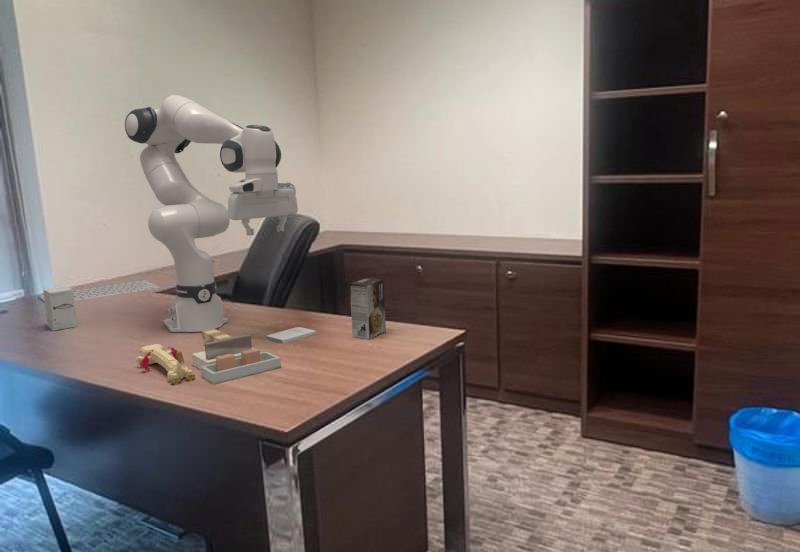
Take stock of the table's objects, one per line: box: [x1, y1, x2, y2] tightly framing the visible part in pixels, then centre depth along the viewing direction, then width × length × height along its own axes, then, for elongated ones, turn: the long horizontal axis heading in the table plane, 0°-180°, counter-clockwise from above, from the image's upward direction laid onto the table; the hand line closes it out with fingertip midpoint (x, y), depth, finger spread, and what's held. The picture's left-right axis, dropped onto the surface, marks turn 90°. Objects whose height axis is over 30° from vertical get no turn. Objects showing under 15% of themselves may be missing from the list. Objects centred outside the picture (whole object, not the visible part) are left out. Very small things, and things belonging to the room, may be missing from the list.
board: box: [191, 347, 254, 370], centre depth 178 cm, size 10×14×3 cm
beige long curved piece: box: [135, 343, 196, 385], centre depth 174 cm, size 10×9×25 cm
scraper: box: [201, 328, 253, 360], centre depth 181 cm, size 14×12×4 cm
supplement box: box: [42, 286, 78, 332], centre depth 222 cm, size 7×7×13 cm
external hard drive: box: [265, 326, 317, 345], centre depth 202 cm, size 2×8×12 cm
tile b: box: [241, 348, 261, 366], centre depth 174 cm, size 4×4×2 cm
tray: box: [200, 351, 282, 385], centre depth 171 cm, size 8×18×2 cm, turn 128°
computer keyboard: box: [37, 279, 161, 303], centre depth 277 cm, size 43×19×2 cm, turn 128°
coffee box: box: [349, 277, 387, 340], centre depth 200 cm, size 9×6×16 cm
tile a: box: [216, 354, 236, 372], centre depth 170 cm, size 4×4×2 cm
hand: (265, 233), depth 194 cm, fingers open, 8 cm apart
